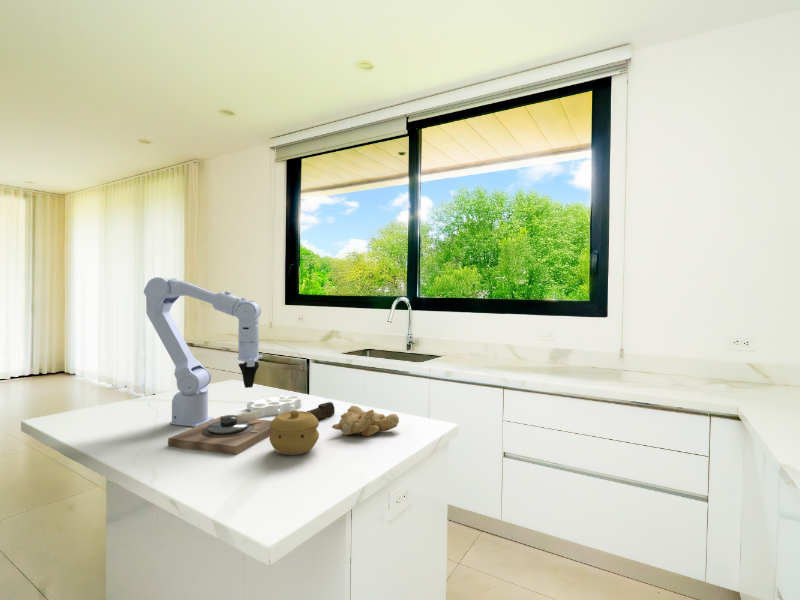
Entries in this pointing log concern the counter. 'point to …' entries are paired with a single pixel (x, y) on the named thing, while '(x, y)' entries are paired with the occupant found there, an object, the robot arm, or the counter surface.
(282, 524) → the counter surface
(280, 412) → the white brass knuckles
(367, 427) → the ginger root
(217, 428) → the dial
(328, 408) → the brown rough bar
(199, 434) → the dial board
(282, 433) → the pot
